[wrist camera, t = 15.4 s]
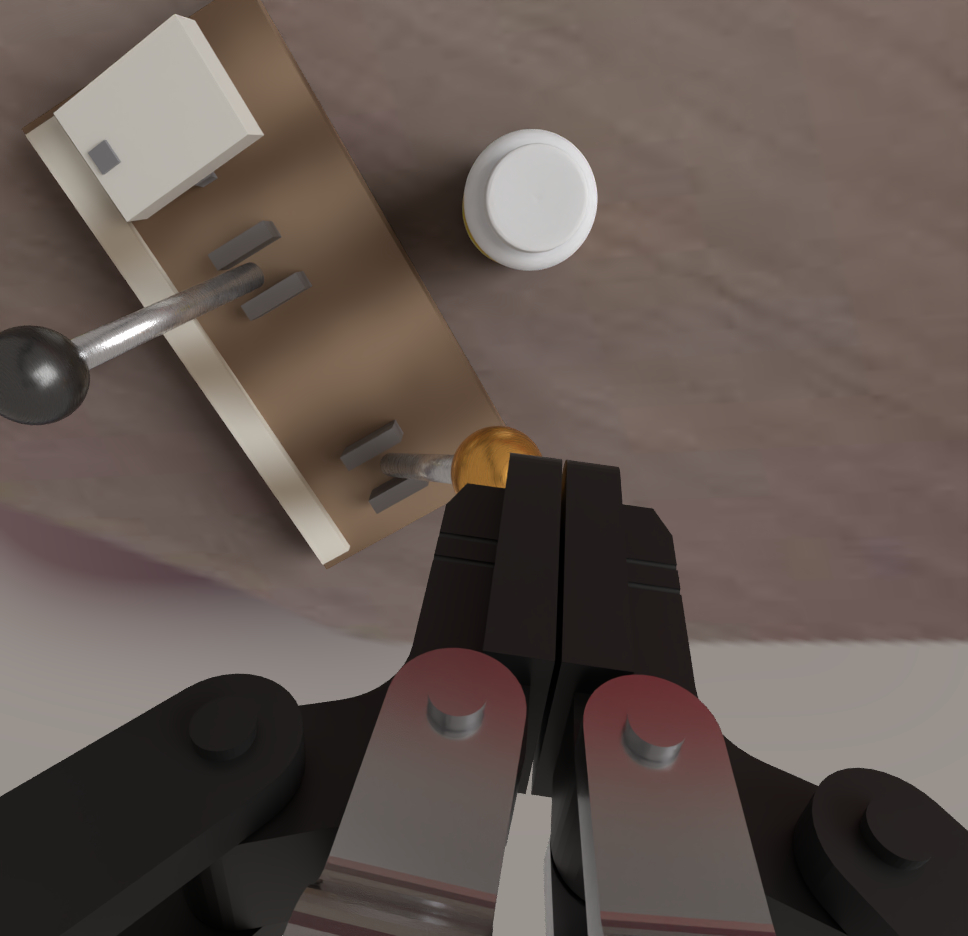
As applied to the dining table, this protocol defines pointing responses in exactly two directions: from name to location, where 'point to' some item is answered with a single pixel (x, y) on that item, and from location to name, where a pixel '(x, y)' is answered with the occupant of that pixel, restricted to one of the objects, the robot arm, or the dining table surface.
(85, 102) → the block
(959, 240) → the dining table surface
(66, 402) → the lever black
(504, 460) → the lever orange
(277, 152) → the panel
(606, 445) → the dining table surface
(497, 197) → the supplement bottle
